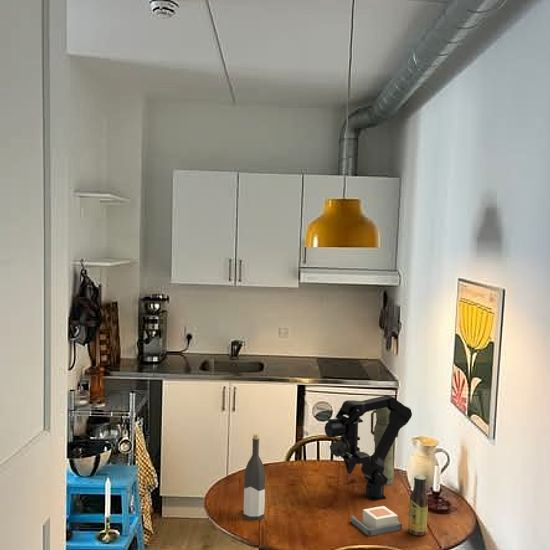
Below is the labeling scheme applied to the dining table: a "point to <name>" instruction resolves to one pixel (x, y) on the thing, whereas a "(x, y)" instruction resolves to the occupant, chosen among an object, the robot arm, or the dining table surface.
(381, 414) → the thermos
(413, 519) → the sauce bottle
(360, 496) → the dining table surface
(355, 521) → the frame
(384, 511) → the carton
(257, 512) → the wine bottle
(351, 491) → the dining table surface
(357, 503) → the dining table surface
